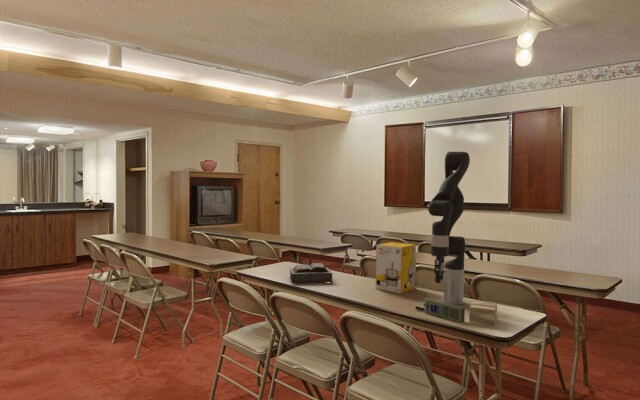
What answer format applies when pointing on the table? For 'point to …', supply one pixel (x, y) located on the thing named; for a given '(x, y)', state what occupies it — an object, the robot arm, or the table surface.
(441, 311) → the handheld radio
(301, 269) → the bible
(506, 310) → the table surface
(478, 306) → the birch block
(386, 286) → the packaging box
